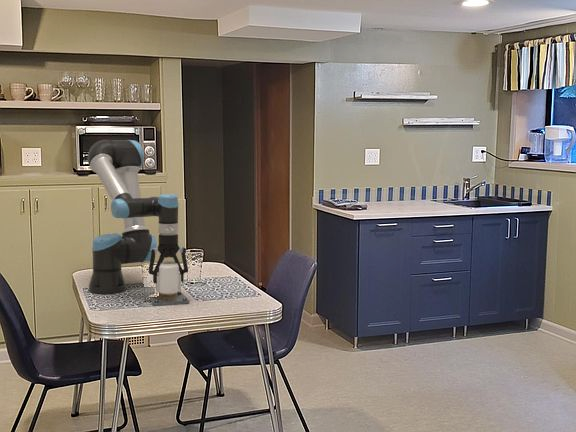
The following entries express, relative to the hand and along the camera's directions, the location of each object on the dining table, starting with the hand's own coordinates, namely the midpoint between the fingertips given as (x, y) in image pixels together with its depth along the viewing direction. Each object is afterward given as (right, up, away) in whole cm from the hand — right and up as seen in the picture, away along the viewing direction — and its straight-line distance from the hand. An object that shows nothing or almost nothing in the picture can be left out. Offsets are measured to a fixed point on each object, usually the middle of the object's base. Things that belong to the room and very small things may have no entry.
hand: (168, 290), depth 278 cm
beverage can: (0, -1, 0) cm, 1 cm away
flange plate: (0, -4, +1) cm, 4 cm away
